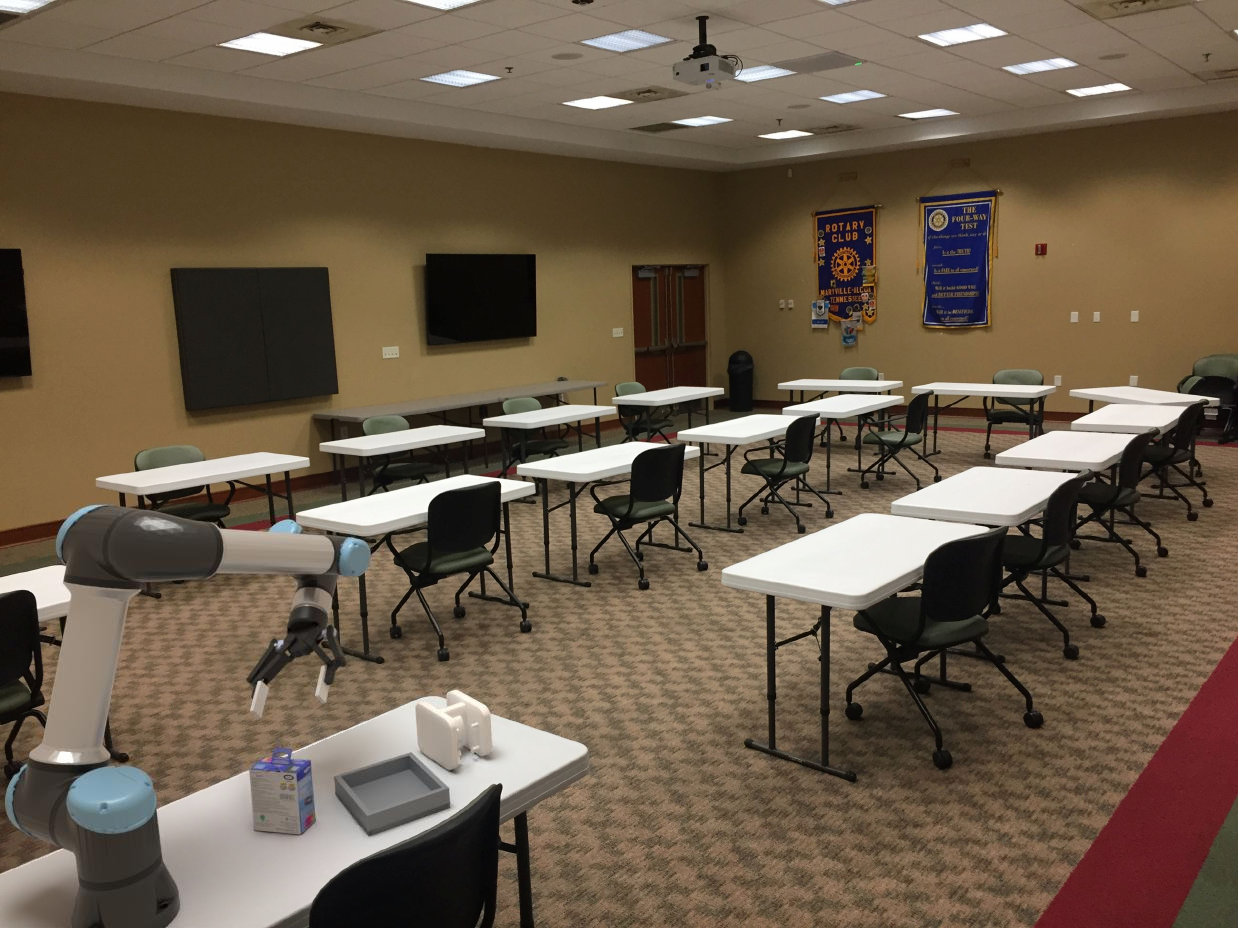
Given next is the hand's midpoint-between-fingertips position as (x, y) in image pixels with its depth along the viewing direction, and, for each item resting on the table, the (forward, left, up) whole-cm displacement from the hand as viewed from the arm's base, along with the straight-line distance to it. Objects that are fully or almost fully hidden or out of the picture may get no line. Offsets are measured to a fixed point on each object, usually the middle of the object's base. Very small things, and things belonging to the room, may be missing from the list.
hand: (287, 707), depth 176 cm
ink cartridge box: (-3, -4, -21) cm, 22 cm away
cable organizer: (+34, +2, -21) cm, 40 cm away
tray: (+16, -8, -21) cm, 27 cm away
